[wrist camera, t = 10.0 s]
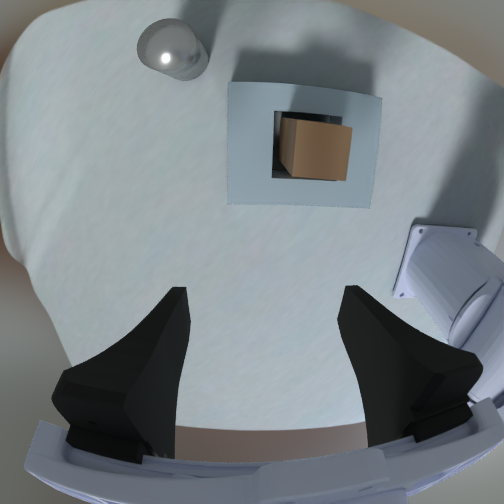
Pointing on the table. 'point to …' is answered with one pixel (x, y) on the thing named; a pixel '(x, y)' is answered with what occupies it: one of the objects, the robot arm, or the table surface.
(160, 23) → the cylinder
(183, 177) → the table surface
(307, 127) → the square bit
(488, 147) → the table surface
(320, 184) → the socket block
